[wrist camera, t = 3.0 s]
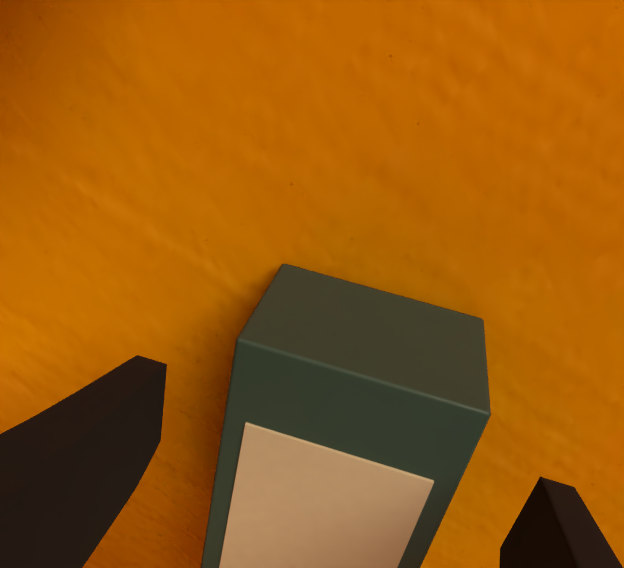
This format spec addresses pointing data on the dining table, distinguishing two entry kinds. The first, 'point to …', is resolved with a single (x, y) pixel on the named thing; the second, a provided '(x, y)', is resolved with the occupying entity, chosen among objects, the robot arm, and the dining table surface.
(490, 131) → the dining table surface
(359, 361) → the carton
